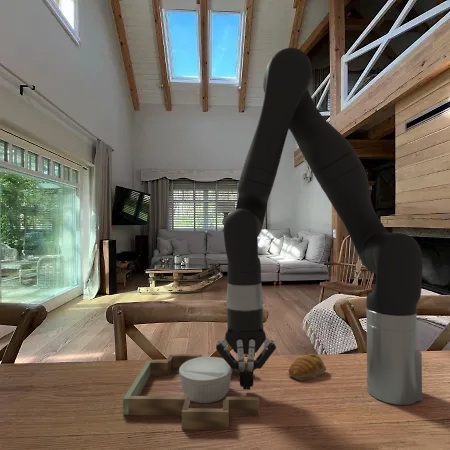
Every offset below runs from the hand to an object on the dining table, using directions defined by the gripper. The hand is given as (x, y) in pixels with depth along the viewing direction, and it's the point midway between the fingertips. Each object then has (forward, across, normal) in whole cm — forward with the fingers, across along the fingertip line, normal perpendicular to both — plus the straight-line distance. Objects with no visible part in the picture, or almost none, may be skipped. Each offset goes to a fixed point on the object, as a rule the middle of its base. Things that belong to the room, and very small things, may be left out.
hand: (246, 387), depth 67 cm
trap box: (+1, +10, 0) cm, 10 cm away
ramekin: (+1, +8, 0) cm, 9 cm away
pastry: (+2, -15, -10) cm, 18 cm away
